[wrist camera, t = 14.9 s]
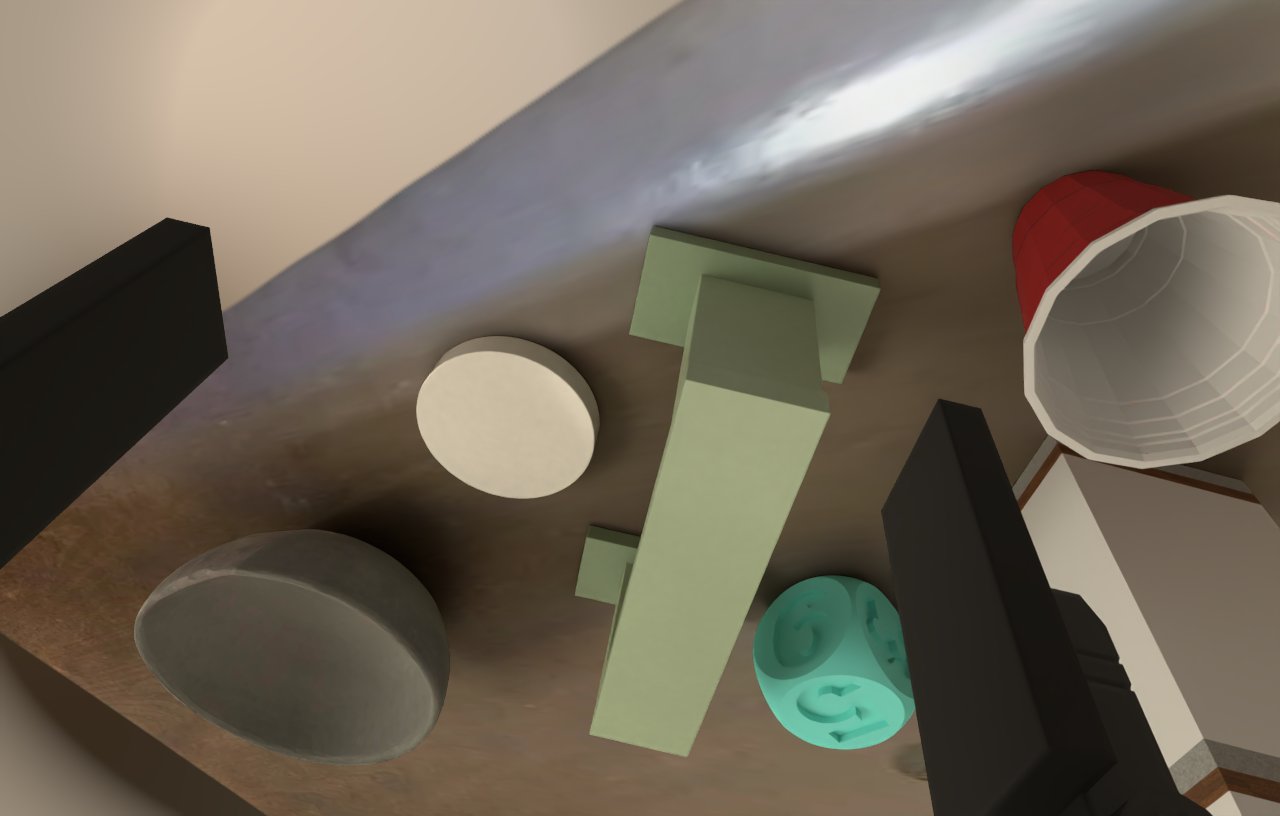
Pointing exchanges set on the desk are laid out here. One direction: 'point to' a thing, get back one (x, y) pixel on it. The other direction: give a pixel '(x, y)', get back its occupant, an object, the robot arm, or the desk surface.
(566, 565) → the desk surface
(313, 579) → the bowl
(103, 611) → the desk surface
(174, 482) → the desk surface
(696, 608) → the green bench arch
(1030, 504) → the white square tower
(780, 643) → the decorative dice
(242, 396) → the desk surface
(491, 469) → the plate
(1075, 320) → the plastic cup
